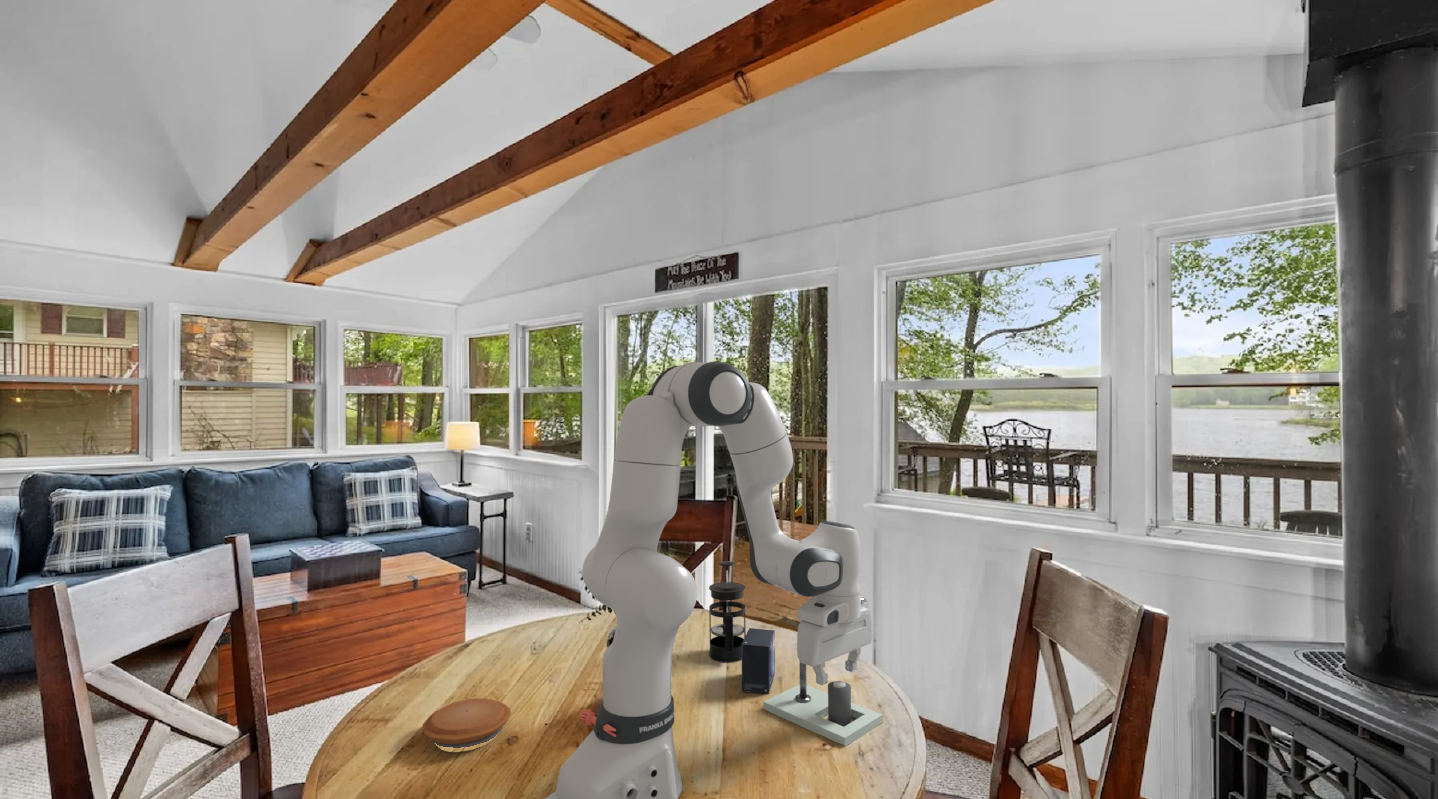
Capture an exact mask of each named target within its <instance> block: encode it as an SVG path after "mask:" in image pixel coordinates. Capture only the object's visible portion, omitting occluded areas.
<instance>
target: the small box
mask: <svg viewBox="0 0 1438 799" xmlns="http://www.w3.org/2000/svg"><path fill="white" fill-rule="evenodd" d="M775 632H776V631H775V630H773V629H763V628H752V627H749V628H748V630H747V631H746V636H745V638H744V637H743V639H744V640H743V643H742V660H741V686H740V687H741V692H746V693H754V694H755V693H756V694H766V695H769V694H770V691H771V688H772V684H773V681H774V678H775V674H776V672H775V671H776V633H775Z"/></svg>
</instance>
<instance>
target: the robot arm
mask: <svg viewBox="0 0 1438 799" xmlns="http://www.w3.org/2000/svg"><path fill="white" fill-rule="evenodd" d="M691 427H695V428H696V427H699V428H702V427H704V428H705V427H718V429H719V430H720V431H721V433H722V435H723V436H724V440H725V443H726V447H727V449H728V450H727V451H728V452H729V455H730V458H731V461H732V462H731V463H732V465H733V468H734V471H735V473H734V474H735V485H736V492H737V495H738V501H739V504H740V508H741V512H742V516H743V518H744V522H745V528H746V530H747V531H746V532H747V534H748V541H749V565H750V569H751V571H752V574H753V575H754V576H755V578H756V579H758V581H760V582H762V583H764V584H767V585H770V586H773V587H777V588H780V589H782V590H785V591H787V592H790V593H793V594H795V595H798V596H802V597H806V598H807V597H809V599H808V600H807V601H806V602H805V603H804V604H802V605H801V606H799V608H798V609H797V618H798V620H801V621H800V622H799V624H798V626H797V636H796V652H797V653H796V655H797V658H798V661H799V660H800V662H801V663H803V664H806V666H809V667H812V669H813V672H814V674H815V683H816V684H818V685H820V686H823V685H826V684H828V682H829V680H828V678H829V674H828V673H827V672H826V673H825V669H824V668H825V667H826V663H827V662H830V661H832V660H833V659H837V658H839V657H842V656H843V655H846V654H848V656H847V660H845V661H844V665H845V666H844V668H845V670H846V671H848V672H849V673H850V672H851V673H852V672H855V671H856V670H857V669H858V668H857V666H858V665H857V664H858V660H859V657H860V655H861V651H862V649H861V648H863V647H865V646H867V645H870V644H871V643H872V641H873V639H874V630H873V629H874V628H873V616H872V612H871V610H870V608H869V607H870V605H869V602H868V600H867V599H866V598H865V597H863V596H861V595H862V589H861V588H862V587H861V586H860V579H859V578H860V574H861V571H862V550H861V549H862V547H861V540H860V535H859V533H858V532H859V531H858V530H857V529H856V528H855V527H854V526H852V525H850V524H846V523H841V522H836V521H831V520H829V521H828V520H824V521H820V522H819V524H818V527H817V528H816V529H815V530H814V531H813V532H811V534H809V535H808V536H806V537H804V538H802V539H800V540H797V539H794V538H791V537H789V536H787V534H785V533H784V532H783V531H782V529H781V528H780V527H779V523H778V520H777V515H776V512H775V507H774V503H773V498H772V490H773V488H775V487H776V486H779V484H781V483H782V482H783V481H784V480H786V478H787V477H788V476H789V474H790V473H791V470H792V468H793V465H794V456H793V450H792V445H791V442H790V438H789V436H788V433H787V430H786V427H785V423H784V422H783V420H782V417H781V415H780V413H779V411H778V409H777V406H776V404H775V403H774V400H773V399H772V397H771V396H770V394H769V392H768V391H767V389H766V388H765V387H764V386H763V385H761V384H759V383H756V382H751V381H750V382H749V381H748V379H747V378H746V376H745V374H743V372H742V371H741V370H739V368H737V367H735V366H734V365H732V364H730V363H728V362H725V361H724V362H722V361H716V360H715V361H709V362H704V361H703V362H701V361H693V362H687V363H683V364H680V365H674V366H671V367H669V368H667V369H665V370H663V371H662V372H661V373H660V374H659V375H658V376H657V378H656V379H655V380H654V381H653V383H652V386H651V388H650V390H649V391H648V393H647V394H646V395H642V396H638V397H635V398H634V399H631V401H629V402H628V403H627V404H626V406H625V408H624V410H623V414H622V417H621V419H620V424H619V428H618V433H617V436H616V443H615V447H614V456H613V466H612V473H611V474H612V476H611V484H610V492H609V502H608V507H607V511H606V516H605V519H604V522H603V524H602V525H603V526H602V528H601V530H600V534H599V536H598V538H597V542H596V544H595V546H593V548H592V549H591V550H590V551H589V552H588V553H587V555H586V557H585V558H584V561H583V563H582V564H583V565H582V568H581V569H582V570H581V571H582V572H581V573H582V579H583V582H584V585H585V586H586V588H587V589H588V591H589V592H590V593H591V595H592V597H594V598H595V599H596V601H598V602H599V603H601V604H602V605H604V606H606V607H608V608H610V609H612V610H613V611H614V612H615V616H616V627H615V631H614V635H613V640H612V642H611V644H610V645H609V646H607V647H606V649H605V651H604V653H603V656H602V700H601V703H600V705H599V708H598V711H597V713H596V712H593V711H592V709H589V708H585V709H584V710H582V712H581V714H580V720H581V722H582V723H584V724H586V725H587V726H593V727H592V731H591V732H590V733H589V734H588V735H587V736H586V737H585V739H583V741H582V742H581V744H579V746H578V747H577V748H576V749H575V750H574V751H573V752H572V754H571V755H570V756H569V757H568V758H567V759H566V760H565V762H564V763H563V764H562V765H561V767H560V770H559V772H558V774H557V775H558V777H557V781H556V789H555V791H554V792H552V793H551V794H549V795H548V796H546V797H545V798H544V799H679V798H680V795H681V793H682V790H683V781H682V778H681V775H680V774H681V773H680V771H679V766H678V764H677V758H676V757H677V756H676V752H675V744H674V743H675V742H674V732H673V725H674V723H675V701H674V700H675V699H674V697H673V695H672V658H673V657H672V656H673V650H674V649H673V647H674V643H675V640H676V637H677V633H678V630H679V628H680V626H681V625H682V624H684V623H685V622H686V621H687V620H688V618H689V617H690V616H691V615H692V612H693V611H694V608H695V606H696V602H697V597H698V588H697V582H696V579H695V578H694V576H693V574H692V573H691V572H690V571H689V570H688V569H687V568H686V567H685V566H683V565H682V564H681V563H680V562H678V560H676V559H674V558H673V557H671V556H669V555H666V554H663V553H661V552H658V545H659V541H660V538H661V535H662V533H663V531H664V528H665V526H666V525H667V524H668V522H669V521H670V520H672V519H673V517H674V516H675V514H676V512H677V509H678V500H679V490H680V481H681V480H680V478H681V468H682V466H681V465H682V453H683V452H682V450H683V449H682V448H683V444H684V441H685V438H686V435H687V433H688V431H689V429H690V428H691ZM800 662H799V663H800Z"/></svg>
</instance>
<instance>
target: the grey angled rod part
mask: <svg viewBox="0 0 1438 799" xmlns="http://www.w3.org/2000/svg"><path fill="white" fill-rule="evenodd" d="M798 661H799V662H798V663H799V684H800V694H798V695H796V697H795V699H796V701H798V702H801V703H808V702H810V701H811V696H809V695H807V685H808V683H807V681H808V679H807V677H808V676H807V665H806V664H803V663H801V662H800V660H799V659H798Z"/></svg>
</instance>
